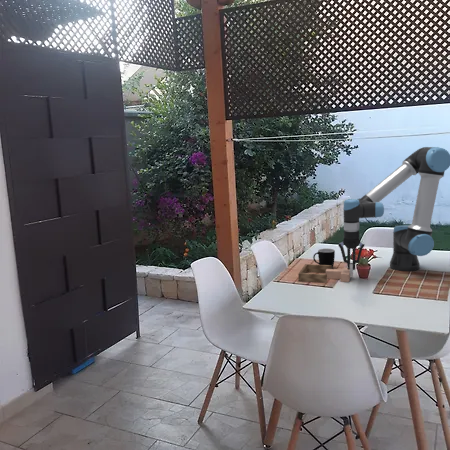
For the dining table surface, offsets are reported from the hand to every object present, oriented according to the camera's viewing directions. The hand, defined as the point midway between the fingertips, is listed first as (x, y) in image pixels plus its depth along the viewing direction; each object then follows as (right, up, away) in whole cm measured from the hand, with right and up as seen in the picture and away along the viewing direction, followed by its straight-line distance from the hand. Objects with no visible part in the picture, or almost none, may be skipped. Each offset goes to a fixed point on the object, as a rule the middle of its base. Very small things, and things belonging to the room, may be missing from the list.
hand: (351, 275), depth 238 cm
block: (-6, -1, +3) cm, 7 cm away
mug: (-9, +2, +23) cm, 25 cm away
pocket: (-16, -1, +7) cm, 18 cm away
